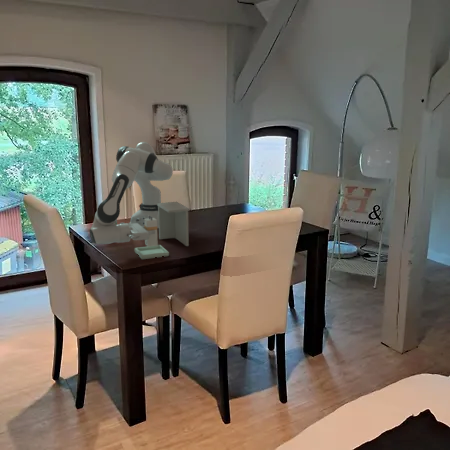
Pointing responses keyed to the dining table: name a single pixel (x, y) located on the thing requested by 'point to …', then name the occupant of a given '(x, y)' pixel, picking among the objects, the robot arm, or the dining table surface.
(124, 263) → the dining table surface
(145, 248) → the tray
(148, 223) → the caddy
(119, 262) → the dining table surface
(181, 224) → the bay
